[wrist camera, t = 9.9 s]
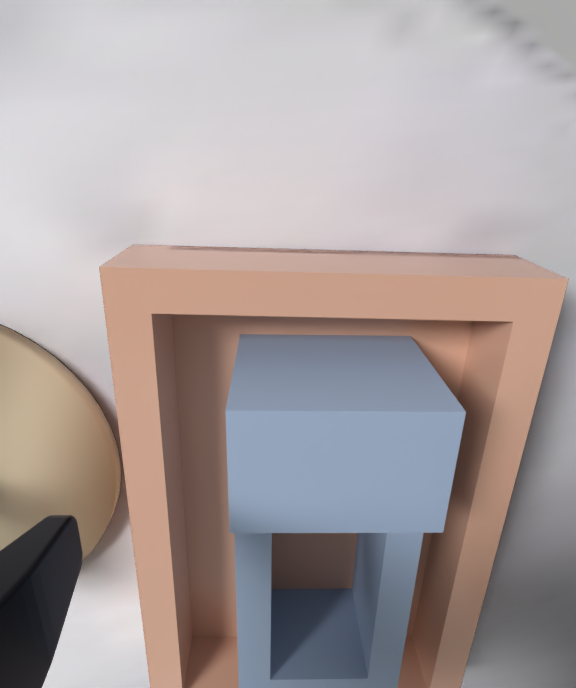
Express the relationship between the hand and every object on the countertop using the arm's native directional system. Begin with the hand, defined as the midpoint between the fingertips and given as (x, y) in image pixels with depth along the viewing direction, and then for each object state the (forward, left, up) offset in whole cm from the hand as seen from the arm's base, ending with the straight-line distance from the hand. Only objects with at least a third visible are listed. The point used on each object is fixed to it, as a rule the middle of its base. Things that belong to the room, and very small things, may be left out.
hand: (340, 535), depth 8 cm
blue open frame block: (0, +4, -6) cm, 7 cm away
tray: (0, +4, -6) cm, 7 cm away
